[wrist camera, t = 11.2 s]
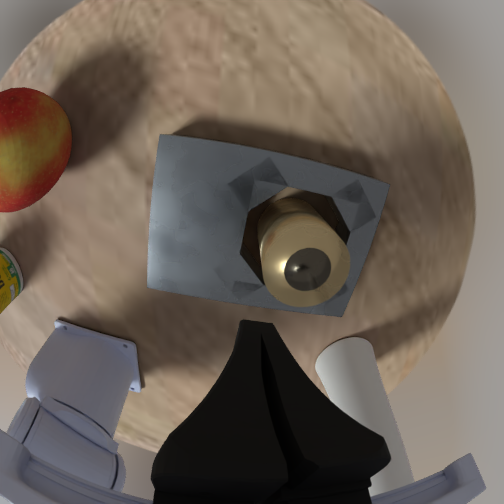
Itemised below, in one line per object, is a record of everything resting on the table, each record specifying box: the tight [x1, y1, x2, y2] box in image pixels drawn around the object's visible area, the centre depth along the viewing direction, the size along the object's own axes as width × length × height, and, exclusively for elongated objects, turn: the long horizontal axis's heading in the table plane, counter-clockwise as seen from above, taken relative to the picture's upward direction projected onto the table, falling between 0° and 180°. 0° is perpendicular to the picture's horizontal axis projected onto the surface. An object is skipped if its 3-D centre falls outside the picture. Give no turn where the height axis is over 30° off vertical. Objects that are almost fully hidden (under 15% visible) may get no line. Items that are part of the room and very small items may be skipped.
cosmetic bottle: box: [315, 337, 414, 496], centre depth 14 cm, size 6×6×22 cm
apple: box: [0, 87, 72, 212], centre depth 11 cm, size 8×8×10 cm
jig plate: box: [147, 134, 390, 317], centre depth 17 cm, size 14×10×2 cm
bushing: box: [257, 198, 350, 307], centre depth 16 cm, size 4×4×6 cm
